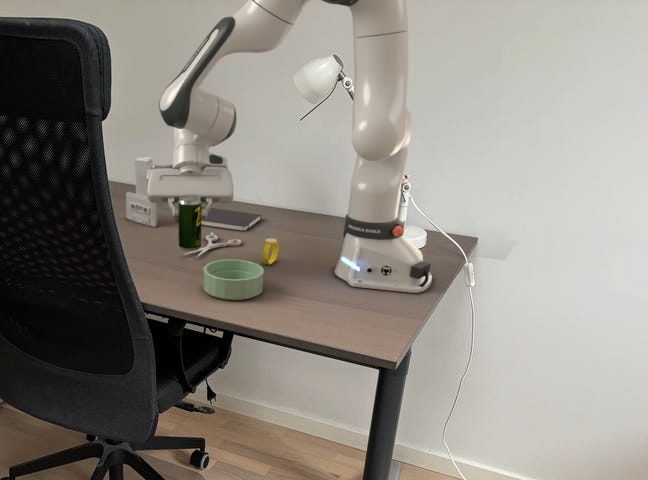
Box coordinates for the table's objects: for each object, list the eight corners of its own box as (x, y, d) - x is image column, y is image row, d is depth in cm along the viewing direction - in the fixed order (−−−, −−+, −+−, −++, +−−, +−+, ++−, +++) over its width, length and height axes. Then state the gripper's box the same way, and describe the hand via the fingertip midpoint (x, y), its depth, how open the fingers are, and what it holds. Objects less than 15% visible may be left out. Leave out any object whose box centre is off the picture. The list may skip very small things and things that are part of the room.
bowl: (271, 285, 170) (272, 265, 167) (249, 306, 159) (250, 284, 157) (217, 276, 175) (218, 255, 173) (193, 295, 164) (193, 273, 162)
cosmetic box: (148, 199, 235) (147, 161, 229) (135, 198, 236) (134, 160, 230) (154, 194, 240) (153, 157, 234) (141, 193, 241) (140, 156, 235)
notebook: (260, 219, 216) (194, 210, 224) (261, 214, 215) (194, 205, 223) (245, 231, 206) (176, 221, 214) (245, 226, 205) (176, 216, 213)
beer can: (176, 250, 172) (176, 200, 167) (180, 243, 177) (180, 194, 172) (199, 252, 172) (199, 201, 166) (202, 244, 176) (203, 194, 171)
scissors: (245, 239, 197) (206, 259, 182) (245, 241, 198) (206, 262, 183) (211, 232, 202) (170, 251, 187) (211, 235, 203) (170, 254, 188)
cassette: (158, 226, 210) (158, 199, 206) (153, 227, 209) (153, 200, 205) (129, 217, 217) (129, 191, 213) (125, 218, 216) (124, 192, 212)
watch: (270, 258, 186) (271, 235, 184) (280, 260, 185) (281, 237, 182) (259, 265, 182) (260, 242, 179) (269, 267, 180) (271, 244, 178)
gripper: (146, 157, 173) (144, 210, 168) (233, 158, 172) (234, 211, 168) (147, 172, 179) (146, 223, 174) (232, 173, 179) (232, 224, 174)
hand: (190, 217), depth 171 cm, fingers closed on beer can, 5 cm apart
